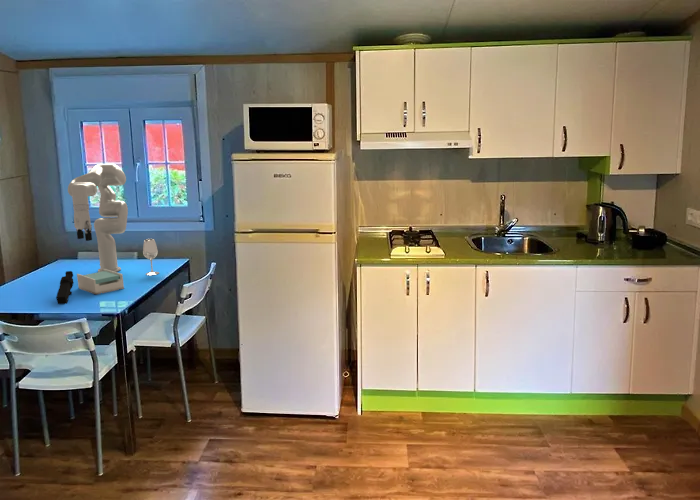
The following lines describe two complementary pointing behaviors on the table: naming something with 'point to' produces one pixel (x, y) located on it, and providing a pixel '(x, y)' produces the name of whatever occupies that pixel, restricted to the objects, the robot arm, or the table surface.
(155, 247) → the wineglass
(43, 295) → the table surface
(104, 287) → the box
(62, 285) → the toy gun
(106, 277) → the lid
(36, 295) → the table surface
